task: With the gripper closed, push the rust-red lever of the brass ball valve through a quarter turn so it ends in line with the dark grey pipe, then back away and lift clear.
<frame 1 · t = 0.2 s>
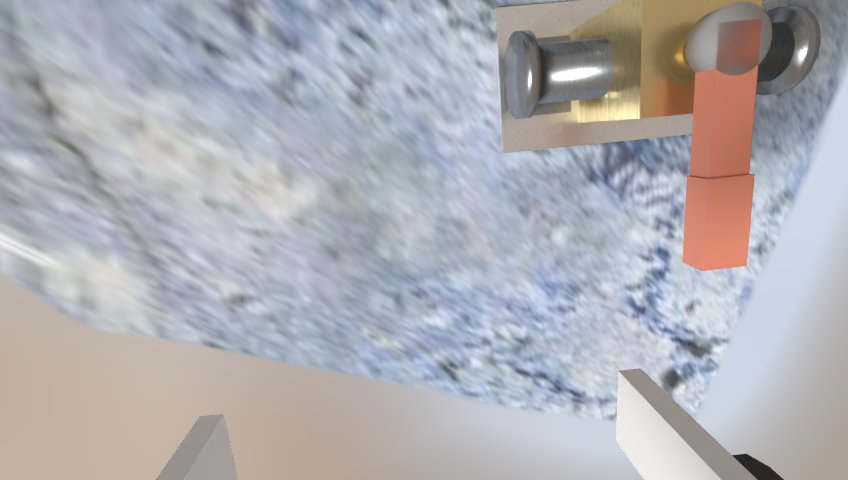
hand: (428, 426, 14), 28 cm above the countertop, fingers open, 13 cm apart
lever: (721, 143, 28), point 14 cm above the countertop, hinge at 0.0°
valve: (617, 73, 39), on the countertop
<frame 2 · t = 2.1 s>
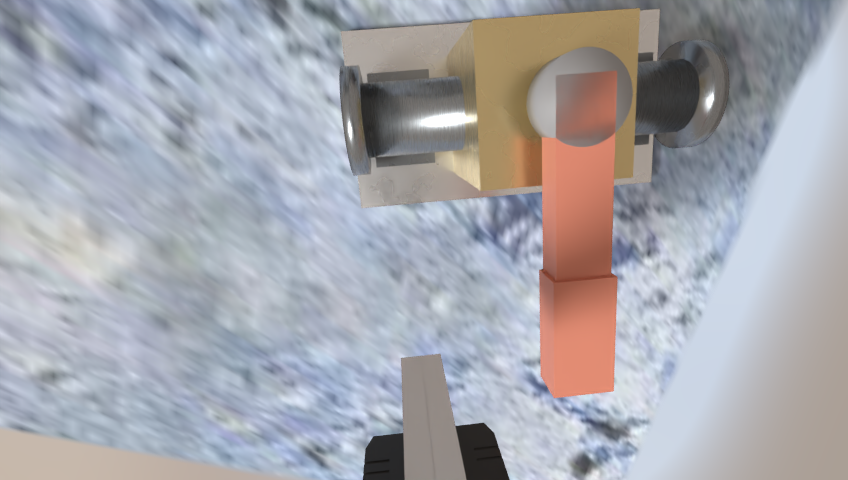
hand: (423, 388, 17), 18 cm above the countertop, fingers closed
lever: (577, 232, 20), point 13 cm above the countertop, hinge at 0.0°
valve: (502, 112, 32), on the countertop
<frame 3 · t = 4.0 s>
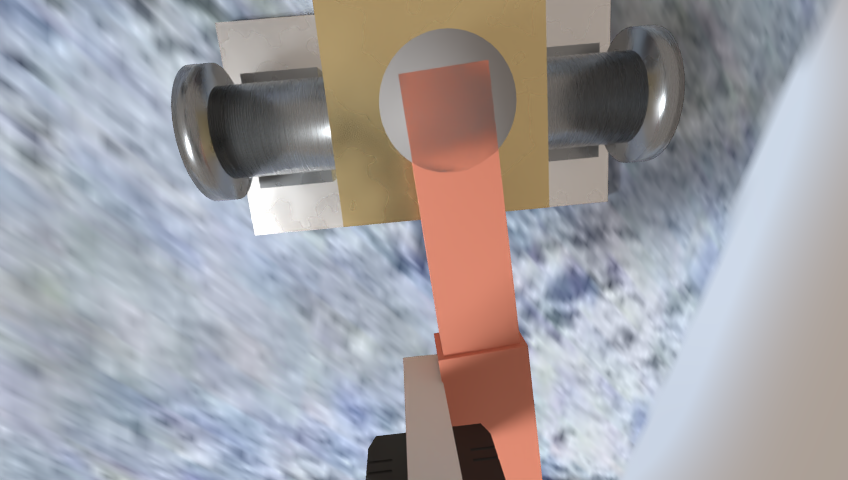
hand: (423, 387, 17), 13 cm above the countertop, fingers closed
lever: (470, 286, 15), point 13 cm above the countertop, hinge at 3.9°, touching gripper
valve: (423, 118, 26), on the countertop
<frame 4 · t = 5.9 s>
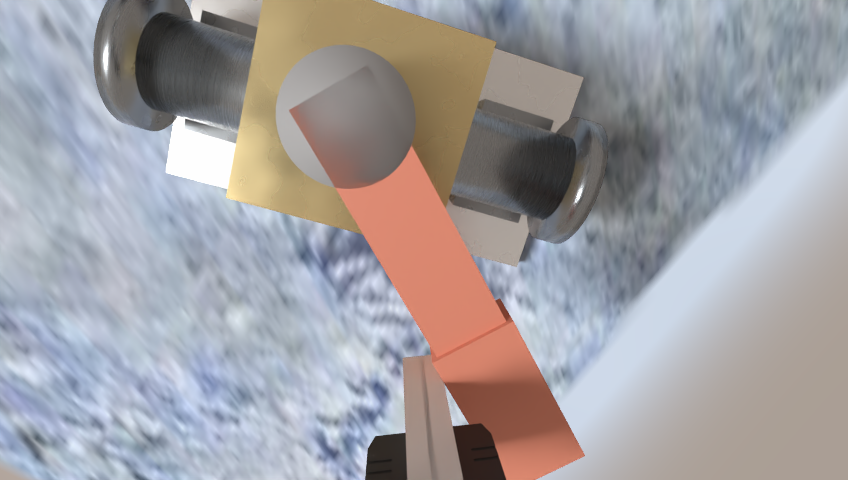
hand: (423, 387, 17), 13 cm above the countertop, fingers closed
lever: (441, 281, 15), point 13 cm above the countertop, hinge at 44.8°, touching gripper
valve: (375, 125, 26), on the countertop
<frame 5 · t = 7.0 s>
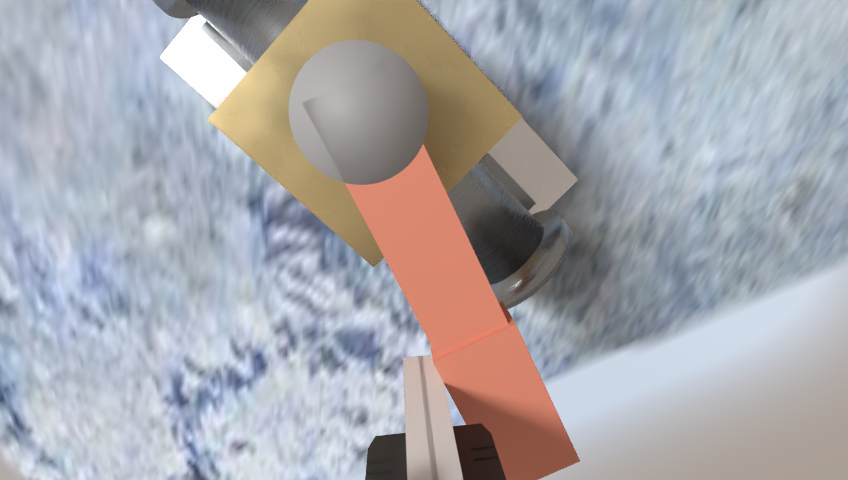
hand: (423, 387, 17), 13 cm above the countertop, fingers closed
lever: (445, 281, 15), point 13 cm above the countertop, hinge at 70.4°, touching gripper
valve: (381, 122, 26), on the countertop
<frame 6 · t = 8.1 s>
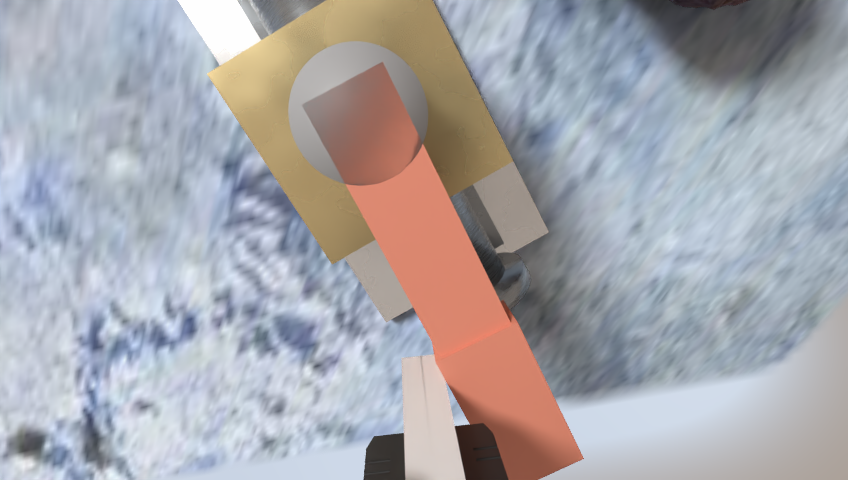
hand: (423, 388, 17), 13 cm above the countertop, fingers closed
lever: (446, 281, 15), point 13 cm above the countertop, hinge at 87.2°, touching gripper
valve: (379, 124, 26), on the countertop
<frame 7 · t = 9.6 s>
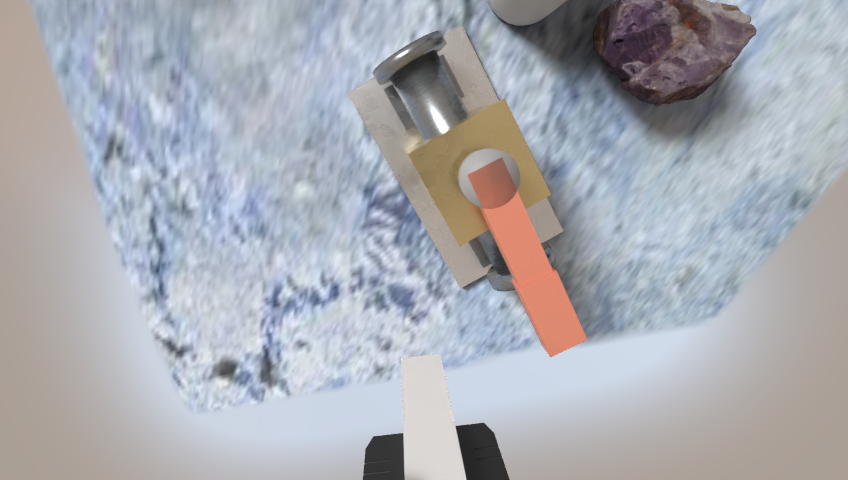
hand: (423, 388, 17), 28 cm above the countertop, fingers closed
lever: (522, 252, 31), point 14 cm above the countertop, hinge at 87.2°
rock: (641, 56, 42), on the countertop
valve: (459, 165, 43), on the countertop
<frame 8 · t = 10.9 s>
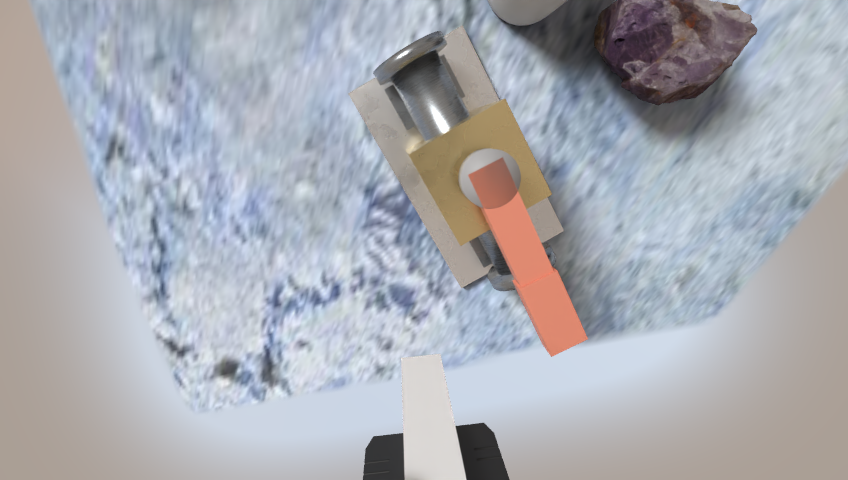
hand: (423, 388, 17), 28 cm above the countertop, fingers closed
lever: (523, 252, 31), point 14 cm above the countertop, hinge at 87.2°
rock: (642, 56, 42), on the countertop
valve: (460, 165, 43), on the countertop
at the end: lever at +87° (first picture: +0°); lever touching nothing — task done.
